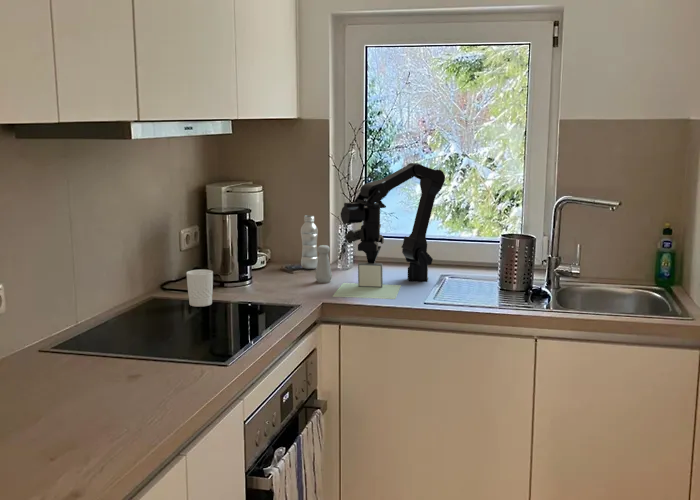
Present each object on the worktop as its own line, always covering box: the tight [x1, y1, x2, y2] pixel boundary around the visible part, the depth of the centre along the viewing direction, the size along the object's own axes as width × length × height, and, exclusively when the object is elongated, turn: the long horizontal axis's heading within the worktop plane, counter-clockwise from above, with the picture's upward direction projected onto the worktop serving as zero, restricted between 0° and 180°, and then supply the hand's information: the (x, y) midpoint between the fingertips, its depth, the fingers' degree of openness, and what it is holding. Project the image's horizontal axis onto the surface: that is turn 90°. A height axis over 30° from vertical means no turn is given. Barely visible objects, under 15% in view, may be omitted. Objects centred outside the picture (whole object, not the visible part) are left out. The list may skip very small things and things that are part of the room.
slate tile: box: [357, 262, 384, 288], centre depth 251 cm, size 8×2×8 cm, turn 80°
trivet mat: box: [331, 282, 402, 300], centre depth 246 cm, size 20×20×1 cm
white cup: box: [185, 269, 214, 308], centre depth 229 cm, size 8×8×10 cm
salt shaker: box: [314, 244, 333, 284], centre depth 258 cm, size 6×6×13 cm
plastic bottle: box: [300, 215, 319, 270], centre depth 282 cm, size 6×7×20 cm
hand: (370, 268), depth 252 cm, fingers closed
